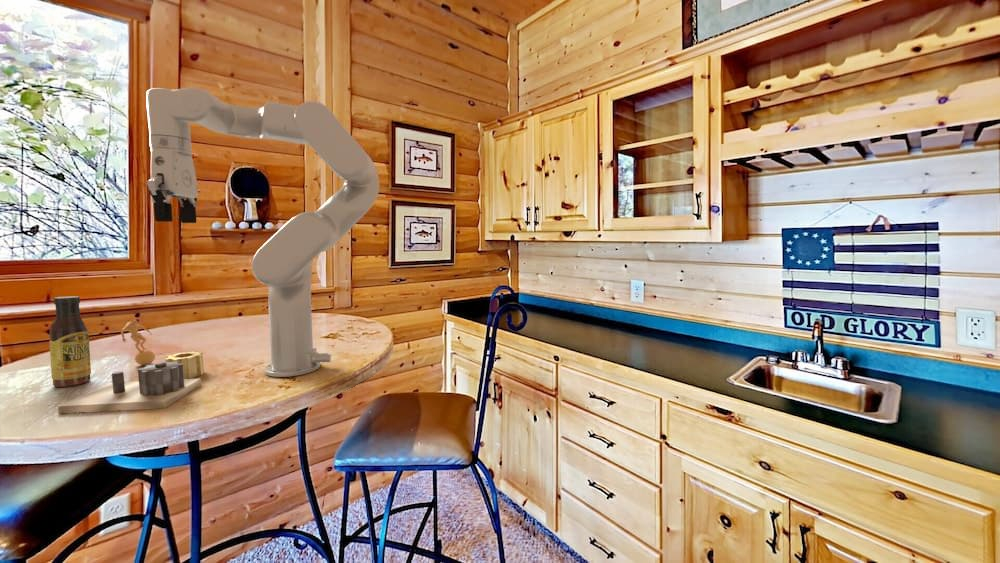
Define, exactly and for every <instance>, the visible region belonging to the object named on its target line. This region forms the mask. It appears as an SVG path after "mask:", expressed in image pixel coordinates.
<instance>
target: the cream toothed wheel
mask: <svg viewBox="0 0 1000 563" xmlns="http://www.w3.org/2000/svg"><path fill="white" fill-rule="evenodd" d="M176 361H177V362H180V364H181V363H183V372H184V379H195V378H196V377H198V376H200V377H201V376H203V375H204V372H205V369H204V357H203V352H202V351H198V352H197V351H194V350H193V351H192V350H191V351H188V352H187V351H186V352H177V353H175V354H170V355H167V356H165V358H164V362H166V363H167V362H176Z"/></svg>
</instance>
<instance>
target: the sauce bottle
mask: <svg viewBox="0 0 1000 563" xmlns="http://www.w3.org/2000/svg"><path fill="white" fill-rule="evenodd" d="M80 303H81V300H80V296H78V295H76V296H74V295H73V296H71V295H70V296H57V297H54V298H53V304H54V305H55V313H56V314H55V320H54V321H53V322H52V323H51V325H50V328H49V341H48V342H49V354H50V372H51V373H50V374H51V380H52V386H53V387H56V388H67V387H73V386H78V385H83V384H85V383H88V382H90V380H91V374H92V368H91V354H90V334H89V331H88V328H87V326H86V324H85V322H84V320H83V319H82V317H81V312H80Z"/></svg>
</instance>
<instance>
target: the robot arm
mask: <svg viewBox="0 0 1000 563" xmlns="http://www.w3.org/2000/svg"><path fill="white" fill-rule="evenodd" d="M145 97H146V111H147V112H146V113H147V124H148V134H149V147H150V153H151V155H150V179H148V180H147V181H146V185H147V187H148V190H149V194H150V197H151V202H152V203H153V208H154V210H153V211H154V220H155V221H156V222H160V223H161V222H165V223H166V222H167V223H168V222H173V221H174V220H173V208H172V203H171V202H170V201H171V199H172V198H174V199H175V198H176V199H178V200H179V201H178V202H180V204H181V206H179V211H180V212H179V215H180V223H183V224H196V223H197V210H196V209H197V208H196V207H197V200H198V196H199V190H198V189H199V188H198V181H197V175H196V168H195V164H194V160H193V151H192V139H191V138H192V136H191V123H194V124H197V125H199V126H201V127H204V128H205V129H208V130H209V131H212V132H214V133H218V134H223V135H227V136H234V137H238V138H239V137H240V138H246V139H256V140H273V141H281V142H287V143H293V144H298V145H305V146H309V147H311V148H312V150H314V151H315V153H316V154H317V155H318V156H319V157H320V159H322V160H323V162H324V163H325V164H326V165H327V166H328V167H329V169H330V170H331V171H332V172H333V173H334V174H335V175H336V176H337V177H338V178H340V179H342V181H343V182H344V183H343V185H342V186H341V188H340V189H339V190H338V191H336V192H334V194H332V195H331V196H330V197H329V198H328V199H327V200H326V202H324V203H323V204H321V206H320V207H319V208H317V209H316V210H315V211H305V212H301V213H298V214H297V215H295V216H293V217H291V219H289V220H288V221H287V222H286V223H285V224H283V226H282V227H280V229H278V231H277V232H275V233H274V234H273V235H272V236H271V237H270V238H269V239H268V240H267V241H266V242H265V243H264V244H262V246H261V247H260V248H259V249H258V250H257V251H256V252H255V254H254V255H253V258H252V260H251V272H252V275H253V276H254V278H255V279H256V280H257V281H258V282H259V283H261V284H263V285H265V286H268V295H267V298H268V299H267V302H268V322H269V325H268V326H269V340H270V356H271V357H270V359H271V363H269V364H267V365H266V366H265V367H264V373H265V375H267V376H269V377H275V378H287V377H289V378H290V377H296V376H302V375H307V374H310V373H312V372H315V371H316V370H318V369H319V368H320V367H321V363H331V361H332V355H331V354H329V353H328V352H323V353H322V352H321V353H319V352H317V348H316V347H315V348H314V343H313V342H314V340H313V339H314V338H313V319H312V275H313V274H312V273H313V265H312V261H313V260H314V259H316V258H317V256H318V255H319V254H321V253H324V252H327V251H330V250H331V249H332V248H334V247H335V245H337V244H338V242H339V241H340V240H341V239H342V238H343V237H345V235H346V234H347V233H348V232H349V231H350V230H351V229H352V228H354V226H355V225H356V224H357V223H358V222H359V221H360V220H361V219H362V218H363V217H364V216H365V215H366V214H367V213H368V212H369V211H370V209H371V208H372V206H373V205H375V202H376V200H377V199H378V195H379V192H380V191H379V190H380V179H379V174H378V171H377V168H376V166H375V164H374V161H373V160H372V158H371V157H370V156H369V155H368V153H366V151H365V150H364V148H362V146H361V145H360V144H359V142H357V140H356V139H355V138H354V137H353V136H352V135H351V133H349V131H348V130H347V129H346V128H345V127H344V125H343V124H342V123H341V122H340V120H338V118H337V116H336V115H335V114H334V113H333V111H332V110H331V109H330V108H329V107H328V106H326V105H325V104H324V103H321V102H318V101H313V100H311V101H306V102H303V103H301V104H299V105H298V106H297V105H292V104H287V103H280V102H276V101H267V102H265V104H264V105H263V106H261V107H247V106H242V105H236V104H230V103H227V102H225V101H223V100H221V99H220V98H218V97H217V96H216V95H213V94H212V93H210V92H209V91H207V90H205V89H202V88H198V87H184V88H178V89H169V88H164V87H163V88H162V87H153V88H149V89H148V90H147V91H146V96H145ZM190 122H191V123H190Z"/></svg>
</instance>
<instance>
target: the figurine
mask: <svg viewBox="0 0 1000 563" xmlns="http://www.w3.org/2000/svg"><path fill="white" fill-rule="evenodd" d="M124 325H125V326H124V327H123V328H122V329H121V330H120V334H121V337H122V342H123V343H126V342H127V340H128V339H126V338H125V334H124V332H125V331H128V332H129V333H130V334H131V335H130V339H131V340H132V341H133V342H135V344H134V346H135V349H136V350H137V351H138V352H137V353H136V354H135V355H134V356H135V357H134V360H135V362H136V364H137V365H140V366H147V365H151V364H152V363H153V362H154V361H155V358H156V355H155V353H154V352H153V351H152V350H150V349H148V348H146V347H144V344H145V343H146V342H147V338H145V337H144V335H142V333H141V332H139V328H142V329H143V330H144V331H146V332H147V333H149V334H150V335H151V336H152V335H153V333H152V332H151V331H150V330H149V329H148V328H146V327H145V326H144V325H142V324H140V323H138V320H137V319H133V320H132V321H128V322H126V323H125V324H124ZM139 345H140V347H141V348H140V347H139Z"/></svg>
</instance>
